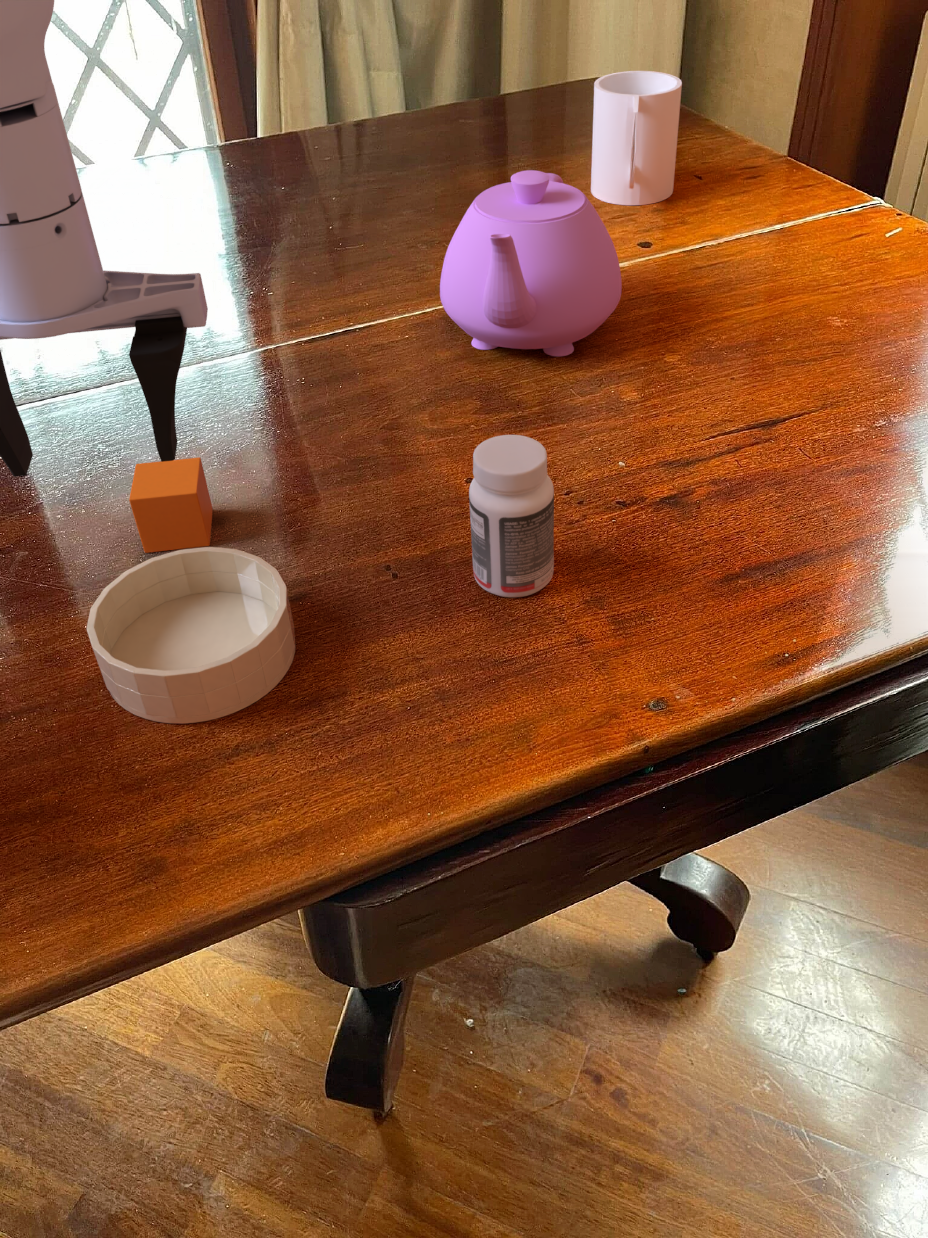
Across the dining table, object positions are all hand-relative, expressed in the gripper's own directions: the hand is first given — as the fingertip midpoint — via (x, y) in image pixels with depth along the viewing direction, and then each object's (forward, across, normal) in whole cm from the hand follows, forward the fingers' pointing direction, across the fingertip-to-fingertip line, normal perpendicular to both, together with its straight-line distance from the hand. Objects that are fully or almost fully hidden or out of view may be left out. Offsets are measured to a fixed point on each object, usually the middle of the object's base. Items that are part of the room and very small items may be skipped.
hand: (96, 458), depth 58 cm
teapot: (+10, -28, -28) cm, 41 cm away
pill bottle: (+10, -22, +2) cm, 24 cm away
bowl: (+9, -4, +6) cm, 12 cm away
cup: (+10, -43, -55) cm, 70 cm away
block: (+9, -2, -6) cm, 11 cm away
